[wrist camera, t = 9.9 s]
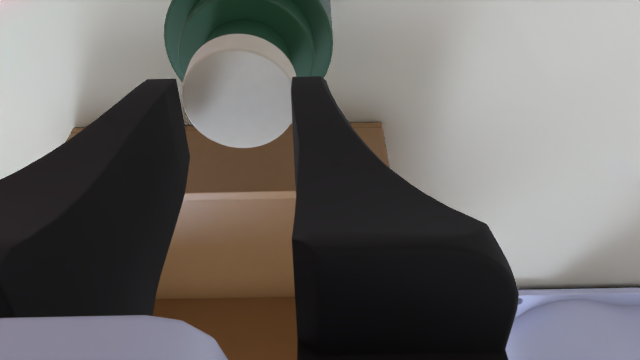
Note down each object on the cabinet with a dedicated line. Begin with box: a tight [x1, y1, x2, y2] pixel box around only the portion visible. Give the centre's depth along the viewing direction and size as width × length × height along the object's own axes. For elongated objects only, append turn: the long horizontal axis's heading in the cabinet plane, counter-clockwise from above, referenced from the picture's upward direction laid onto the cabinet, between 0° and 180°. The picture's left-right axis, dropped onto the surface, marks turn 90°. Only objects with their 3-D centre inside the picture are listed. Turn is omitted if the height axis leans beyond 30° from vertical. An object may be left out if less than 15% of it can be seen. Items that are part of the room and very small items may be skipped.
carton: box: [67, 122, 389, 360], centre depth 27 cm, size 13×11×4 cm
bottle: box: [164, 0, 333, 148], centre depth 17 cm, size 4×4×9 cm
